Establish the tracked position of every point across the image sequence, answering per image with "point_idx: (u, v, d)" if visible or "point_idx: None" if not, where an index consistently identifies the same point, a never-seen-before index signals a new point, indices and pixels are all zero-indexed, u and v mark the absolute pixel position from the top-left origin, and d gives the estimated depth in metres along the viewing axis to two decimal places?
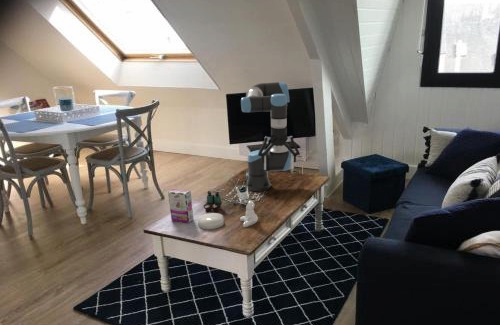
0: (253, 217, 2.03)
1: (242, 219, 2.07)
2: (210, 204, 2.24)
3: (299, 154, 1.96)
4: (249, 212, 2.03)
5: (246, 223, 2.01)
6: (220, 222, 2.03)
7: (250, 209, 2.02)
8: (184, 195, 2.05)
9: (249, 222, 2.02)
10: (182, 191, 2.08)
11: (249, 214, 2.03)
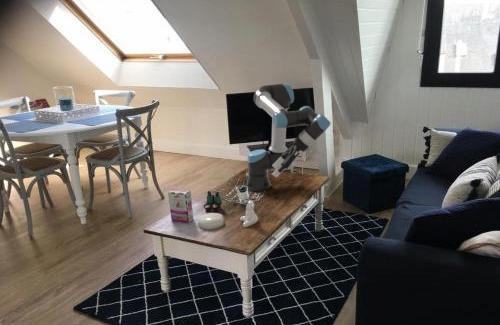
0: (253, 217, 2.03)
1: (242, 219, 2.07)
2: (210, 204, 2.24)
3: None
4: (249, 212, 2.03)
5: (246, 223, 2.01)
6: (220, 222, 2.03)
7: (250, 209, 2.02)
8: (184, 195, 2.05)
9: (249, 222, 2.02)
10: (182, 191, 2.08)
11: (249, 214, 2.03)
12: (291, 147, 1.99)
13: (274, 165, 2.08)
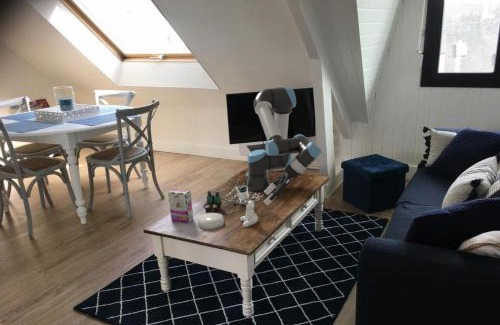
0: (253, 217, 2.03)
1: (242, 219, 2.07)
2: (210, 204, 2.24)
3: None
4: (249, 212, 2.03)
5: (246, 223, 2.01)
6: (220, 222, 2.03)
7: (250, 209, 2.02)
8: (184, 195, 2.05)
9: (249, 222, 2.02)
10: (182, 191, 2.08)
11: (249, 214, 2.03)
12: (282, 174, 1.98)
13: (266, 191, 2.07)
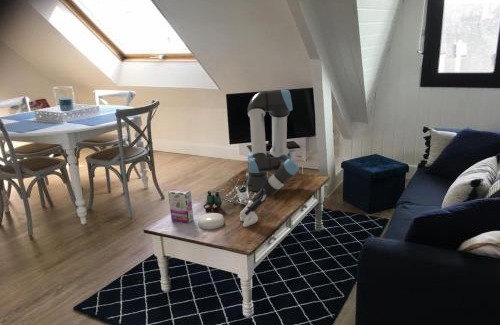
0: (253, 217, 2.03)
1: (242, 219, 2.07)
2: (210, 204, 2.24)
3: None
4: None
5: (246, 223, 2.01)
6: (220, 222, 2.03)
7: None
8: (184, 195, 2.05)
9: (249, 222, 2.02)
10: (182, 191, 2.08)
11: (249, 214, 2.03)
12: (261, 190, 2.02)
13: (242, 212, 2.07)
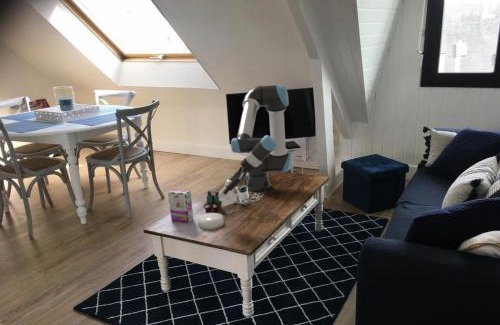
0: (232, 196, 1.99)
1: (221, 199, 2.03)
2: (210, 204, 2.24)
3: None
4: None
5: (225, 202, 1.97)
6: (220, 222, 2.03)
7: None
8: (184, 195, 2.05)
9: (228, 201, 1.98)
10: (182, 191, 2.08)
11: (228, 193, 1.99)
12: (239, 168, 1.98)
13: (221, 192, 2.02)
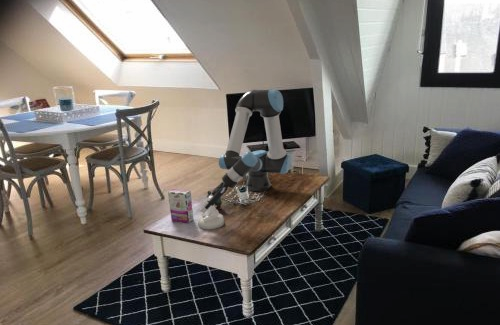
0: (213, 212, 2.04)
1: (203, 214, 2.08)
2: None
3: None
4: None
5: (206, 218, 2.02)
6: (220, 222, 2.03)
7: None
8: (184, 195, 2.05)
9: (209, 217, 2.03)
10: (182, 191, 2.08)
11: (209, 209, 2.03)
12: (221, 183, 2.02)
13: (205, 202, 2.09)
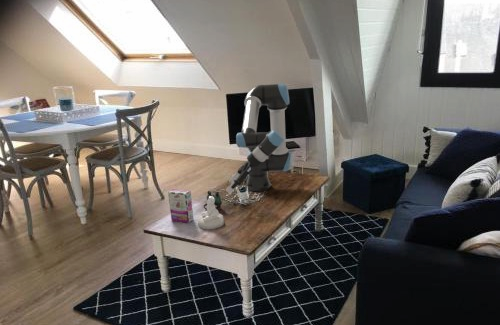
0: (213, 212, 2.04)
1: (203, 214, 2.08)
2: None
3: None
4: (209, 207, 2.03)
5: (206, 218, 2.02)
6: (220, 222, 2.03)
7: (210, 204, 2.03)
8: (184, 195, 2.05)
9: (209, 217, 2.03)
10: (182, 191, 2.08)
11: (209, 209, 2.03)
12: (245, 163, 1.98)
13: (230, 180, 2.07)
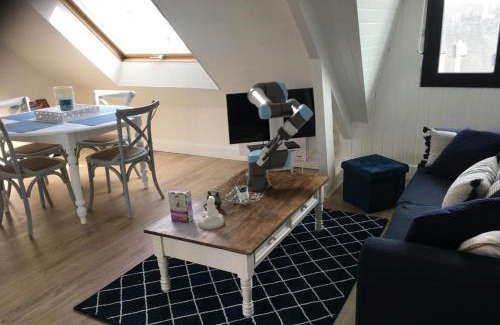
0: (213, 212, 2.04)
1: (203, 214, 2.08)
2: None
3: None
4: (209, 207, 2.03)
5: (206, 218, 2.02)
6: (220, 222, 2.03)
7: (210, 204, 2.03)
8: (184, 195, 2.05)
9: (209, 217, 2.03)
10: (182, 191, 2.08)
11: (209, 209, 2.03)
12: (275, 137, 2.05)
13: (259, 154, 2.14)
